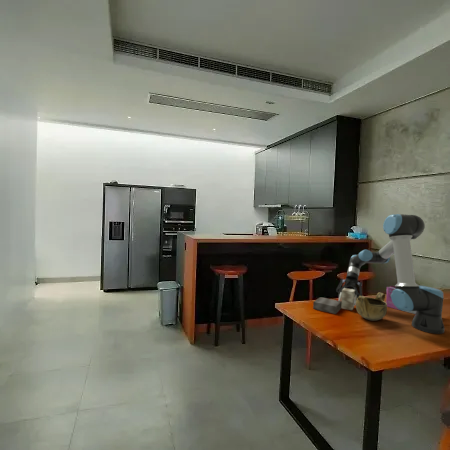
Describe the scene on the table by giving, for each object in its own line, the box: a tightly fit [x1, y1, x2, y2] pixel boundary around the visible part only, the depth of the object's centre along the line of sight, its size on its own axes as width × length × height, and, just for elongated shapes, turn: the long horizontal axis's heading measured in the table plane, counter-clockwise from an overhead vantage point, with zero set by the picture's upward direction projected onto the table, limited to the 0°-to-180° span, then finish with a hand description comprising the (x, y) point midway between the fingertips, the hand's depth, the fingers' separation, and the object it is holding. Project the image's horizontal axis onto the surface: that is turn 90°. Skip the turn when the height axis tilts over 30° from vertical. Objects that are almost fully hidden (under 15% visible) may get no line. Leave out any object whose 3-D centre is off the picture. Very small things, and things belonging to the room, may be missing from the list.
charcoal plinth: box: [312, 297, 342, 315], centre depth 192 cm, size 14×14×5 cm
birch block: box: [340, 287, 356, 311], centre depth 196 cm, size 7×7×12 cm
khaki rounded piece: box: [355, 291, 388, 322], centre depth 177 cm, size 22×17×15 cm
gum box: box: [385, 285, 417, 315], centre depth 197 cm, size 24×8×14 cm, turn 42°
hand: (346, 302), depth 193 cm, fingers open, 9 cm apart
